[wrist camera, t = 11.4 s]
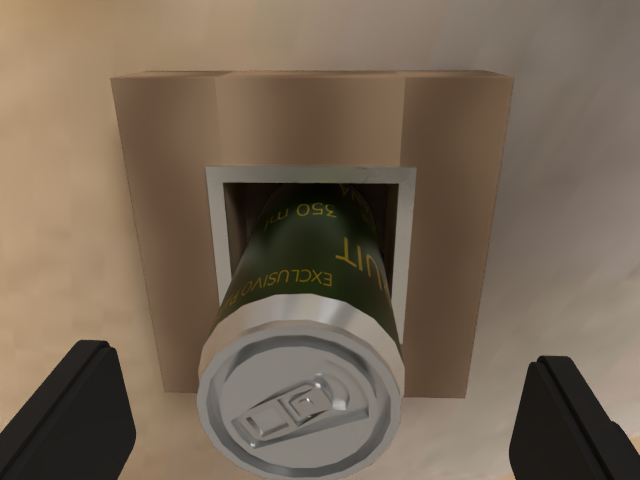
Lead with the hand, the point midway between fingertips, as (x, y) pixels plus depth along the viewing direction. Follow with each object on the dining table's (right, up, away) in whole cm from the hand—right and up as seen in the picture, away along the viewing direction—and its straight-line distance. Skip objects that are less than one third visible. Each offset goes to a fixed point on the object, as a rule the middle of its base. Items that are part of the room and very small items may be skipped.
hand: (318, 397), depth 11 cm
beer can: (0, +4, +12) cm, 12 cm away
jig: (0, +4, +12) cm, 12 cm away
